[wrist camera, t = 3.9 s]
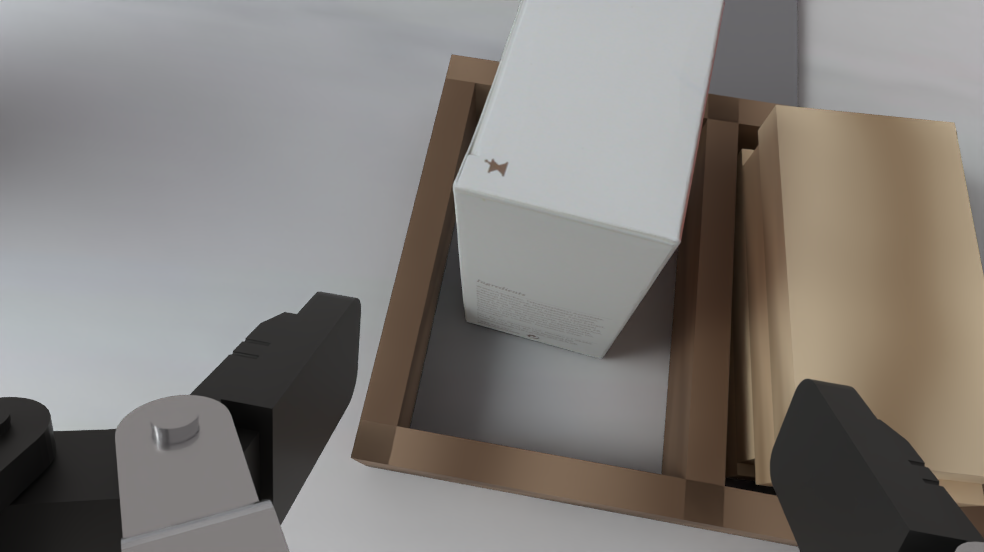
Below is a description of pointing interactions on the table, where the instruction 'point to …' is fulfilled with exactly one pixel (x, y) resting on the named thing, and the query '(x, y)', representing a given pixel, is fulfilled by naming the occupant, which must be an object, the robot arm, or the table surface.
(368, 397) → the walnut rack
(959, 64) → the table surface
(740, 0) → the charcoal mat
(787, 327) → the offcut stack
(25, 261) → the table surface
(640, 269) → the small box
